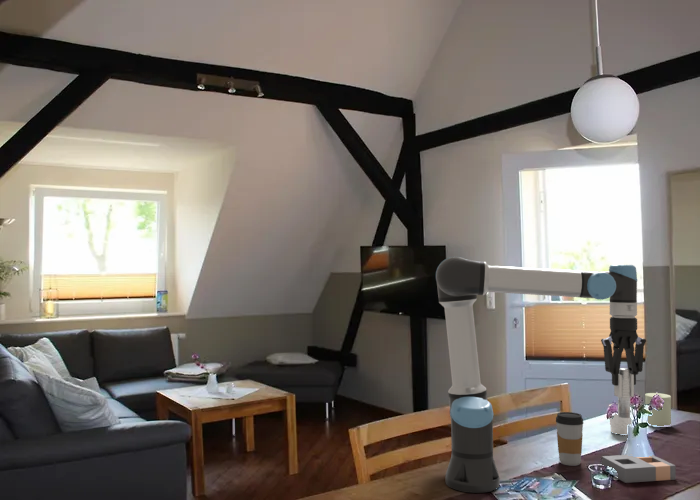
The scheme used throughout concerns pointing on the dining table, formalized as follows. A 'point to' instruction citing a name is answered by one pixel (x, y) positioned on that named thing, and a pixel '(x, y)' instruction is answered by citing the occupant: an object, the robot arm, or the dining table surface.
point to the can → (660, 416)
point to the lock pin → (624, 394)
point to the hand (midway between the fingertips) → (624, 396)
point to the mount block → (640, 468)
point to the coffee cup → (569, 437)
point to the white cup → (619, 424)
